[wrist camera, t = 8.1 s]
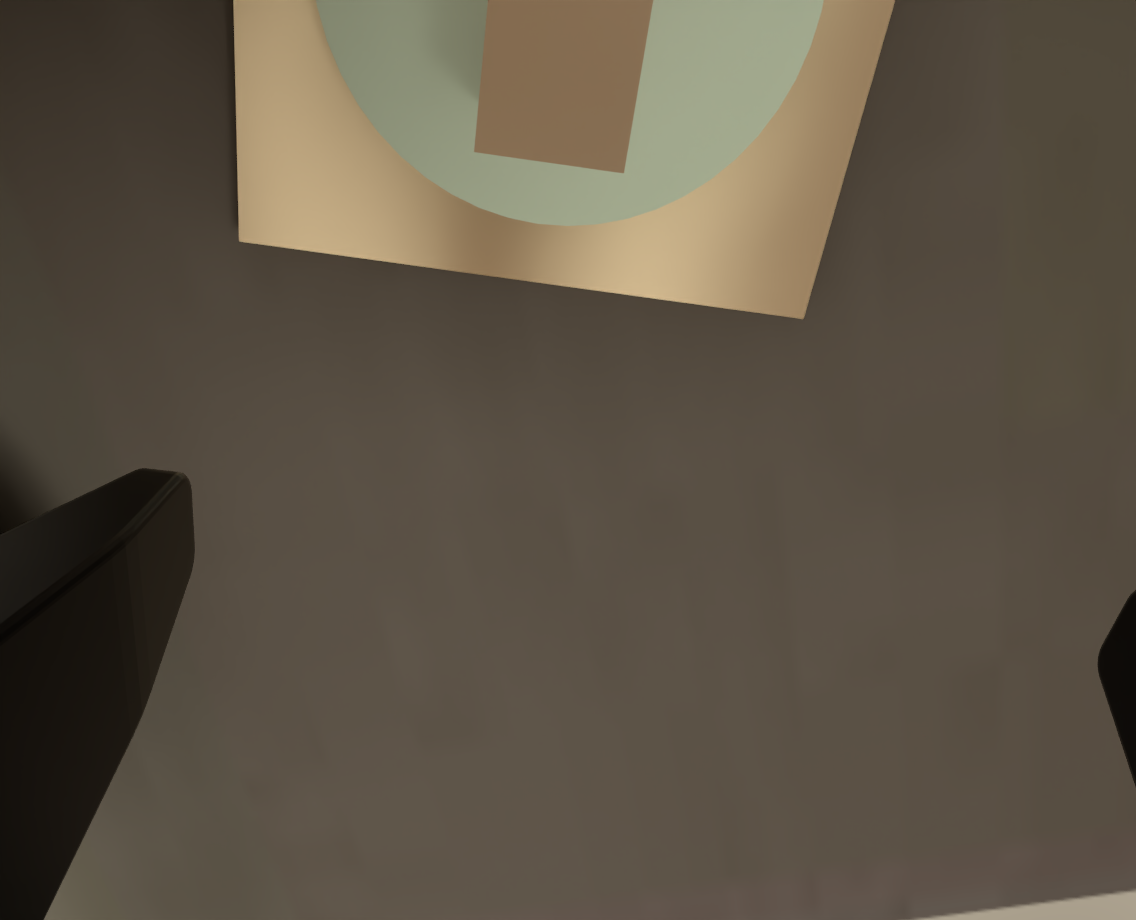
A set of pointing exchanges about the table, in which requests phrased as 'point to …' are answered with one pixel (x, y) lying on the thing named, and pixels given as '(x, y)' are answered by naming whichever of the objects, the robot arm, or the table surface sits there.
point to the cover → (569, 94)
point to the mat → (539, 251)
